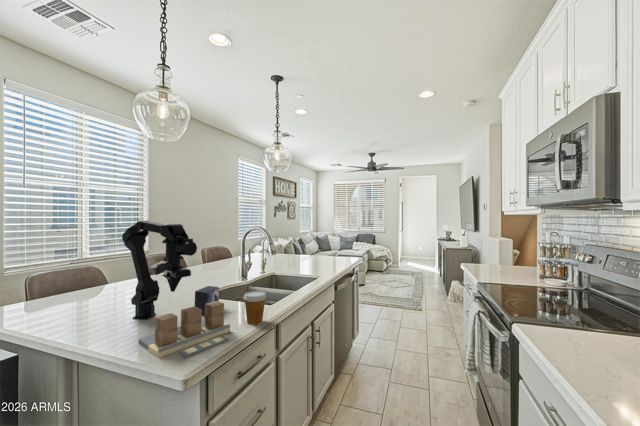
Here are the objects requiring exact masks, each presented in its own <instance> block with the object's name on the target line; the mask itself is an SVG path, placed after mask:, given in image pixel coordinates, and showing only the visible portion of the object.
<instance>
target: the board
mask: <svg viewBox="0 0 640 426" xmlns="http://www.w3.org/2000/svg"><path fill="white" fill-rule="evenodd" d="M229 332H231V324H230V323H227V324H224V326H221V327H218V328H215V329H212V330H210V329H207V328H205V318H203V319H202V318H201V334H198V335H195V336H192V337H189V338H186V337H184V336H182V335H181V325H179V326H177V342H175V343H172V344H169V345H166V346H163V347H161V348H160V347H159V346H157V345H155V333H154V334H151V335H148V336H143V337H141V338H139V339H138V344H139V345H141V347H143V348H145V349H146V350H148V351H149V352H151V354H153V355H155V356H156V357H157V358H162V357H165V356H167V355H170V354H173V353H176V352H179V351H182V350H185V349H187V348H190V347H193V346H195V345H198V344H201V343H203V342H206V341H209V340H212V339H214V338H217V337H220V336H222V335H224V334H226V333H229Z"/></svg>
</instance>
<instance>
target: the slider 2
mask: <svg viewBox="0 0 640 426" xmlns="http://www.w3.org/2000/svg"><path fill="white" fill-rule="evenodd" d="M204 319H205V328H207V329H210V330H212V329H215V328H218V327H221V326H224V325H225V303H224V302H222V301H214V302H211V303H207V304H205V315H204Z"/></svg>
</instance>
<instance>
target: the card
mask: <svg viewBox="0 0 640 426" xmlns="http://www.w3.org/2000/svg"><path fill="white" fill-rule="evenodd" d="M226 341H227V342H229V341H230V338H228V337H226V336H224V335H219V336H216V337H213V338H211V339H208V340H205V341H203V342H200V343H197V344H195V345H192V346H189V347H187V348H184V349H181V350H179V351H178V355H180V356H181V357H183V358H185V359H187V358H189V357H191V356H194V355H197V354H199V353H202V352H204V351H207V350H209V349H211V348H214V347H216V346H219V345H221V343H222V344H224V343H226Z"/></svg>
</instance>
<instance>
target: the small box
mask: <svg viewBox="0 0 640 426" xmlns="http://www.w3.org/2000/svg"><path fill="white" fill-rule="evenodd" d="M219 292H220V287H219V286H212V285H211V286H210V285H207V286H205V287H201V288H200V289H196V290H194V306H195V307H198V308H200V309H202V315H203V316H205V304H207V303H211V302H214V301H219V299H220V298H219V297H220V293H219ZM219 302H220V301H219ZM202 315H201V316H202Z"/></svg>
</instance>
